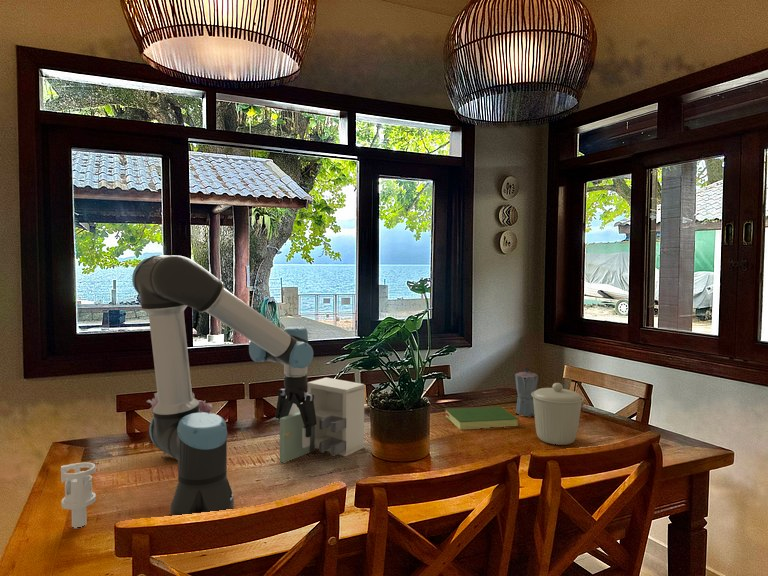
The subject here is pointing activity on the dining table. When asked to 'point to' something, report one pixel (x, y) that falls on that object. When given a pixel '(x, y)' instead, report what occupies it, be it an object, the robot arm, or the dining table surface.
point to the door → (293, 437)
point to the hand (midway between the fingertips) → (295, 443)
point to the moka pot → (525, 392)
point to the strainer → (78, 491)
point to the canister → (557, 414)
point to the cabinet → (338, 415)
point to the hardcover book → (480, 417)
